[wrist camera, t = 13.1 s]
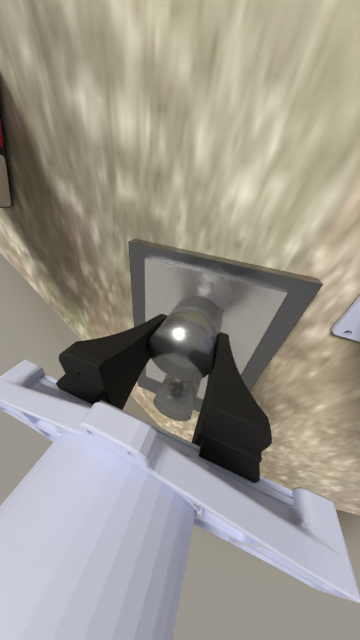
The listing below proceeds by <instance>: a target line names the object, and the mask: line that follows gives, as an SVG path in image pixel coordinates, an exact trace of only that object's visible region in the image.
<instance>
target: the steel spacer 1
mask: <svg viewBox="0 0 360 640" xmlns="http://www.w3.org/2000/svg"><path fill="white" fill-rule="evenodd" d="M222 321H223V320H222V314H221V311H220V310H219V308H218V307H217V305H216V304H215V303H213V302H212V301H211V300H209V299H207V298H205V297H202V296H188V297H185V298H183V299H182V300H181V301H179V302H178V304H177V305H176V306H175V307H174V309H173V310H172V311H171V313H170V314H169V315H168V316H167V318H166V319H165V320H164V321H163V323H162V324H161V325H160V327H159V328H158V329H157V330H156V332H155V333H154V334H153V335H152V337H151V338H150V340H149V342H148V352H149V355H150V357H151V359H152V361H153V362H154V363H155V365H156V366H157V367H158V368H159V369H160V370H162V371H163V372H164V373H166V374H168V375H169V376H171V377H174V378H176V379H180V380H184V381H196V380H200V379H203V378H204V377H206V376H207V375H208V374H209V372H210V370H211V367H212V363H213V359H214V355H215V351H216V347H217V342H218V338H219V334H220V330H221V326H222Z"/></svg>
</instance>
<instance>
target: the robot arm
mask: <svg viewBox="0 0 360 640" xmlns="http://www.w3.org/2000/svg"><path fill="white" fill-rule="evenodd" d="M167 316H168V315H164V314H159V315H158V316H156V317H154V318H152V319H150V320H148V321H146V322H144V323H143V324H140V325H138V326H136V327H134V328H132V329H129V330H127V331H124V332H121V333H118V334H114V335H111V336H107V337H103V338H98V339H92V340H85V341H78V342H75V343H74V344H72V345H71V346H70V347H69V348H67V349H66V350H65V351H63V352H62V353H61V354H60V355H59V361H60V363H61V365H62V367H63V369H64V371H65V373H66V374H65V375H64V376H63V377H62V378H61V379H59V380H57V379H55V378H53V377H51V376H49V375H47V374H45V373H44V371H43V369H42V368H41V367H40V366H39V365H37V364H35V363H33V362H30V361H28V360H24V361H23V362H21V363H20V364H18V365H17V366H15V367H14V368H12V369H11V370H9V371H8V372H6V373H5V374H3V375H2V376H0V408H1V409H2V410H3V411H5V412H7V413H8V414H10V415H12V416H13V417H15V418H17V419H18V420H20V421H22V422H23V423H25V424H26V425H28V426H30V427H31V428H33V429H34V430H36V431H38V432H39V433H41V434H42V435H44V436H45V437H47V438H49V439H50V440H52V441H53V442H54V443H53V444H52V445H51V446H50V448H49V449H48V450H47V451H46V452H45V453H44V455H43V456H42V457H41V458H40V459H39V461H38V462H37V463H36V464H35V465H34V467H33V468H32V469H31V470H30V471H29V472H28V474H27V475H26V476H25V477H24V478H23V480H22V481H21V482H20V483H19V485H18V486H17V487H16V488H15V489H14V490H13V492H12V493H11V494H10V495H9V497H8V498H7V499H6V500H5V501H4V502H3V503H2V505H1V506H0V640H173V634H174V629H175V623H176V617H177V612H178V607H179V600H180V595H181V590H182V585H183V579H184V573H185V568H186V562H187V557H188V551H189V546H190V540H191V535H192V529H193V524H195V525H197V526H200V527H201V528H203V529H205V530H207V531H209V532H211V533H213V534H215V535H217V536H218V537H220V538H222V539H224V540H226V541H228V542H230V543H232V544H234V545H235V546H237V547H239V548H241V549H243V550H245V551H247V552H249V553H251V554H253V555H255V556H256V557H258V558H260V559H262V560H264V561H266V562H268V563H269V564H271V565H273V566H275V567H277V568H279V569H280V570H282V571H284V572H286V573H288V574H290V575H291V576H293V577H295V578H297V579H298V580H300V581H302V582H304V583H306V584H307V585H309V586H311V587H313V588H314V589H317V590H320V591H323V592H327V593H330V594H332V595H336V596H339V597H342V598H345V599H348V600H352V601H355V602H358V603H360V595H359V591H358V587H357V584H356V580H355V576H354V573H353V569H352V566H351V562H350V559H349V555H348V552H347V548H346V545H345V541H344V537H343V534H342V530H341V528H340V523H339V520H338V516H337V513H336V509H335V505H334V503H333V502H332V501H331V500H329V499H327V498H325V497H323V496H321V495H319V494H316V493H314V492H312V491H310V490H308V489H305V488H300V487H299V488H295V489H293V490H291V489H289V488H287V487H285V486H282V485H280V484H278V483H276V482H274V481H272V480H270V479H268V478H265V477H263V476H261V475H260V469H259V462H261V460H262V459H261V452H262V451H263V450H265V449H266V448H267V447H269V446H270V444H271V443H272V436H271V429H270V425H269V420H268V417H267V416H266V415H265V413H264V412H263V411H262V409H261V408H260V407H259V406H258V404H257V403H256V401H255V400H254V398H253V397H252V395H251V393H250V392H249V390H248V388H247V387H246V385H245V383H244V381H243V379H242V377H241V375H240V373H239V371H238V368H237V366H236V363H235V360H234V357H233V354H232V350H231V346H230V341H229V335H228V334H225V333H222V332H220V334H219V338H218V342H217V347H216V351H215V355H214V359H213V363H212V367H211V370H210V372H209V374H208V381H207V386H206V391H205V395H204V399H203V403H202V406H201V410H200V414H199V417H198V421H197V425H196V428H195V432H194V436H193V439H192V443H191V442H189V441H187V440H185V439H183V438H181V437H178V436H176V435H174V434H172V433H170V432H168V431H166V430H164V429H161V428H159V427H157V426H155V425H153V424H151V423H149V422H147V421H144V420H142V419H140V418H138V417H136V416H134V415H132V414H129V413H127V412H125V411H123V407H124V405H125V403H126V401H127V399H128V397H129V395H130V393H131V391H132V389H133V387H134V385H135V384H136V382H137V380H138V378H139V376H140V374H141V373H142V371H143V369H144V367H145V366H146V364H147V363H148V361H149V360H150V359H151V357H150V355H149V352H148V342H149V340H150V338H151V337H152V335H153V334H154V333H155V332H156V330H157V329H158V328H159V327H160V325H161V324H162V323H163V321H164V320H165V319H166V318H167ZM331 331H332V332H333V334H334V335H337V336H340V337H344V338H348V339H351V340H355V341H359V342H360V296H359V297H358V298H357V299H356V301H355V302H354V303H353V304H352V305H351V306H350V307H349V309H348V310H347V311H346V312H345V313H344V314H343V315H342V317H341V318H340V319H339V320H338V321H337V322H336V323H335V324H334V326H333V327H332V328H331ZM345 331H349V332H347V333H344V332H345Z"/></svg>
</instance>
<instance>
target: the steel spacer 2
mask: <svg viewBox="0 0 360 640" xmlns="http://www.w3.org/2000/svg"><path fill="white" fill-rule="evenodd" d="M201 380H202V379H200V380H196V381H184V380H180V379H176V378H174V377H171V376H169V375H168V374H166V376H165V378H164V380H163V382H162V384H161V386H160V388H159V390H158V392H157V394H156V396H155V398H154V400H153V403H154V405H155V407H156V408H157V409H158V410H159V411H160V412H161V413H162V414H164V415H165V416H167V417H169V418H171V419H174V420H177V421H188V420H189V419H190V418H191V415H192V411H193V408H194V405H195V401H196V398H197V394H198V391H199V387H200V384H201Z"/></svg>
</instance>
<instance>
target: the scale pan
mask: <svg viewBox="0 0 360 640" xmlns="http://www.w3.org/2000/svg"><path fill="white" fill-rule="evenodd" d="M286 295H287V291H286V290H285V289H280V288H276V287H272V286H268V285H264V284H259V283H255V282H251V281H247V280H243V279H238V278H234V277H230V276H226V275H221V274H217V273H213V272H209V271H205V270H200V269H196V268H192V267H188V266H184V265H179V264H175V263H171V262H167V261H163V260H158V259H154V258H150V257H147V258H145V322H146V321H148V320H150V319H152V318H154V317H156V316H158V315H159V314H164V315H169V314H170V313H171V311H172V310H173V309H174V307H175V306H176V305H177V304H178V302H179V301H181V300H182V299H183V298H185V297H188V296H202V297H205V298H207V299H209V300H211V301H212V302H213V303H215V304H216V305H217V307H218V308H219V310H220V311H221V314H222V320H223V321H222V326H221V330H220V332H222V333H225V334H228V335H229V341H230V346H231V350H232V354H233V357H234V360H235V363H236V366H237V368H238V371H239V373H240V375H241V373H242V372H243V370H244V368H245V366H246V365H247V363H248V361H249V359H250V358H251V356H252V354H253V352H254V351H255V349H256V347H257V345H258V344H259V342H260V340H261V338H262V337H263V335H264V333H265V332H266V330H267V328H268V326H269V325H270V323H271V321H272V319H273V318H274V316H275V314H276V312H277V311H278V309H279V307H280V305H281V304H282V302H283V300H284V298H285V297H286ZM146 376H147V377H149V378H152V379H154V380H157V381H159V382H161V383H162V382H163V380H164V378H165V376H166V373H164V372H163V371H162V370H160V369H159V368H158V367H157V366H156V365H155V363H154V362H153V361H152V359H150V360H149V361H148V363H147V364H146ZM207 381H208V375H207V376H206V377H204V378H203V379H202V380H201V384H200V387H199V391H198V394H197V397H198V398H201V399H204V395H205V391H206V386H207Z"/></svg>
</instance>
